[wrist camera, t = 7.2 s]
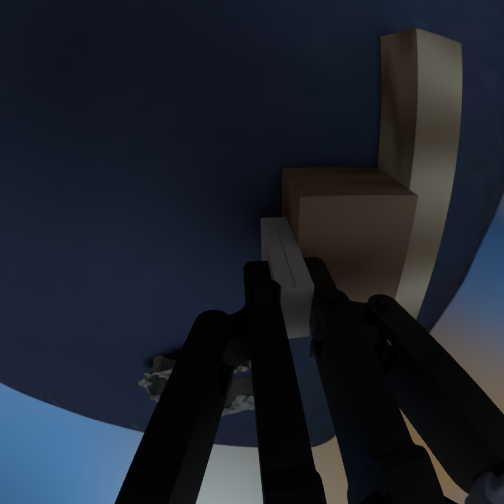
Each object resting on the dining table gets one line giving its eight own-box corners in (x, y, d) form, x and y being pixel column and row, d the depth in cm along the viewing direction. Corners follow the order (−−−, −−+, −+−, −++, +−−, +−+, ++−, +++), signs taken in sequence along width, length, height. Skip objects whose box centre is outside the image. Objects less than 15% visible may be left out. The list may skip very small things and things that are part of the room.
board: (380, 36, 13) (416, 28, 10) (421, 46, 13) (461, 43, 10) (346, 347, 25) (359, 382, 22) (376, 342, 25) (392, 375, 22)
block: (281, 167, 17) (299, 196, 13) (376, 167, 17) (418, 195, 13) (281, 282, 21) (293, 333, 17) (361, 275, 21) (388, 320, 17)
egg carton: (251, 322, 23) (256, 362, 20) (280, 374, 27) (286, 410, 23) (137, 354, 24) (128, 391, 21) (179, 398, 28) (176, 432, 24)
